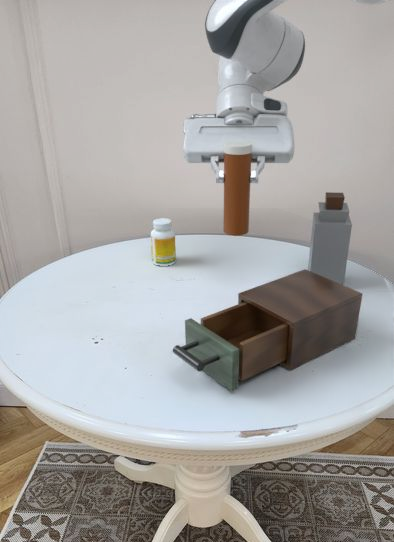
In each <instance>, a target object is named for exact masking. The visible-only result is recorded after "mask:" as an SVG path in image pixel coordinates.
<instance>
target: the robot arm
mask: <svg viewBox="0 0 394 542" xmlns="http://www.w3.org/2000/svg"><path fill="white" fill-rule="evenodd" d="M286 1H287V0H213V2H212V3H211V6H210V7H209V9H208V12H207V14H206V17H205V20H204V28H205V29H204V30H205V35H206V40H207V43H208V45H209V48H210V50H211V52H212V53H213V54H216V55H218V56H219V59H218V65H217V86H218V91H217V94H216V105H215V113H206V114H205V113H204V114H199V113H195V114H191V116H188V117H187V118H186V119H185V120H183V129H182V131H183V134H184V139H183V145H182V146H183V147H182V152H183V158H184V159H185V161H186V162H187V163H189V164H210V168H211V170H212V172H213V173H214V175H215V182H216V184H224V169H220V167H219V166H220V164H224V143H225V142H229V141H247V142H251V143H252V152H251V164H256V167H255V169H251V173H250V174H251V176H250V184H259V176H260V174H261V173H262V172H263V170H264V169H265V165H266V164H289V163H290V162H291V161H292V160H293V158H294V154H295V135H294V129H293V124H292V122H291V120H290V118H289V117H288V104H287V102H285V101H284V100H279V99H275V98H272V97H269V96H266V95H264V94H265V93H266V92H270V91H273V90H275V89H277V88H279V87H280V86H282V85H284V84H286V83H288V82H289V81H291V80H292V79H293V78H294V77H295V76H296V75H297V74H298V73H299V72H300V69H301V67H302V65H303V61H304V59H305V58H304V57H305V51H306V39H305V35H304V32H303V31H302V30H300V29H299V28H298V27H297V26H295V25H294V24H293V23H291V22H289V21H288V20H287V19H286V18H284V17H282V16H280V15H279V14H278V13H276V12H275V11H273V10H274V9H276V8H278V7H279V6H280V5H282V4H283V3H285V2H286ZM351 1H353V2H355V3H358V4H363V5H381V4H383V3H386V2H389V1H390V0H351Z"/></svg>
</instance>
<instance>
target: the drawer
mask: <svg viewBox="0 0 394 542" xmlns="http://www.w3.org/2000/svg"><path fill="white" fill-rule="evenodd" d="M289 331H290V325H288V324H286V323H285V322H283V321H281V320H279V319H277V318H275V317H273V316H272V315H270V314H268V313H266V312H264V311H262V310H260V309H259V308H257V307H255V306H253V305H251V304H249V303H247V302H243V303H240V304H238V303H237V304H235V305H233V306H229V307H228V308H225V309H222V310H219V311H216V312H214V313H211V314H209V315H206V316H203V317H200V322H198V321H196V320H195V319H194V318H192V317H191V318H188V319H185V320H184V333H185V335H184V337H185V345H182V346H181V345H180V344H176V345H174V346H173V348H172V353H173V354H174V355H176V356H177V357H178V358H180V359H181V360H182V361H184V362H185V363H186V364H187V365H189V366H190V367H192V368H193V369H194V370H196V371H197V372H202V371H204V372H205V373H207V374H208V375H209V376H210V377H211V378H213V379H215V380H216V381H217V382H218V383H220V384H222V385H223V386H224V387H226V388H227V389H228V390H230V391H231V392H233V391H235V390H237V389H239V380H240V381H241V382H243V381H245V380H247V379H249V378H252V377H253V376H256V375H259V374H260V373H262V372H264V371H266V370H269V369H271V368H272V367H274V366H277V365H279V363H281V362H283V361H285V360H287V354H288V343H289Z"/></svg>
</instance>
